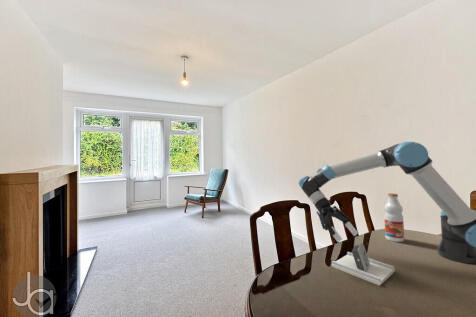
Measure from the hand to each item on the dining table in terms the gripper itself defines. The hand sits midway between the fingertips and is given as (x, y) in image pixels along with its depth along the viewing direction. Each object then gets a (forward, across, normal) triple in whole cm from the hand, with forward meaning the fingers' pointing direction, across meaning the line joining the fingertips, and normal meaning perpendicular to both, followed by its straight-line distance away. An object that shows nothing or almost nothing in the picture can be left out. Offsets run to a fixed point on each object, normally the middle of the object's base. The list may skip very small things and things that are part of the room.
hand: (348, 237), depth 100 cm
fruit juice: (+8, -54, -11) cm, 55 cm away
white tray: (+13, -2, -6) cm, 14 cm away
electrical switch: (+12, -1, -5) cm, 13 cm away
